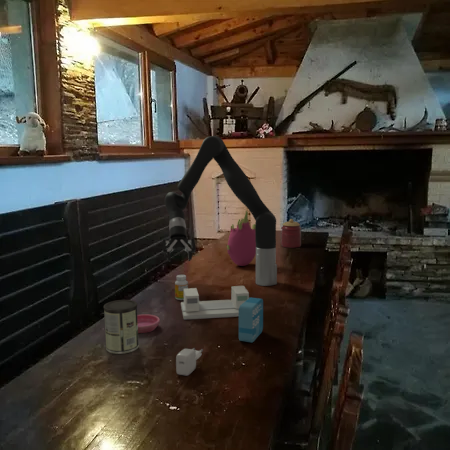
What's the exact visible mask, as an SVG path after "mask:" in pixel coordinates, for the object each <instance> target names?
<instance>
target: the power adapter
mask: <svg viewBox="0 0 450 450" xmlns="http://www.w3.org/2000/svg"><path fill="white" fill-rule="evenodd" d="M203 351H204V349H203V348H201V349H199V350H196V347H193V348H183V349H182V350H181V351H179V352H178V353H177V354H176V355H175V356H176V357H175V367H176V369H175V370H176V371H175V372H176V374H177V375H180V376H187V377H188V376H189V375H191V374H192V373H193V371H195V370H196V368H197V360H198V359H200V358H201V357H202V352H203Z"/></svg>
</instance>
